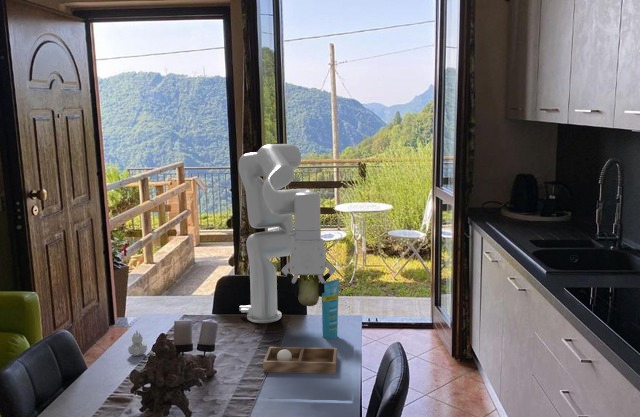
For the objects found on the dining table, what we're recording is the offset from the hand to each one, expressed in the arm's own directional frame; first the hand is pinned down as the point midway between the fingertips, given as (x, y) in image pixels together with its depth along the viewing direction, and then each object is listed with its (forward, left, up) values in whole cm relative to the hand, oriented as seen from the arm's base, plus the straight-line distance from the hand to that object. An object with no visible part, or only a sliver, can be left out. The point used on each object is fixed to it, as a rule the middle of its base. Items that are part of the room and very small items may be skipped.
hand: (309, 294), depth 161 cm
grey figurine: (-53, +1, -21) cm, 57 cm away
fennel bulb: (0, 0, -3) cm, 3 cm away
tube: (+5, +19, -21) cm, 29 cm away
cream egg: (-7, -4, -20) cm, 21 cm away
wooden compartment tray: (-2, -4, -20) cm, 21 cm away
